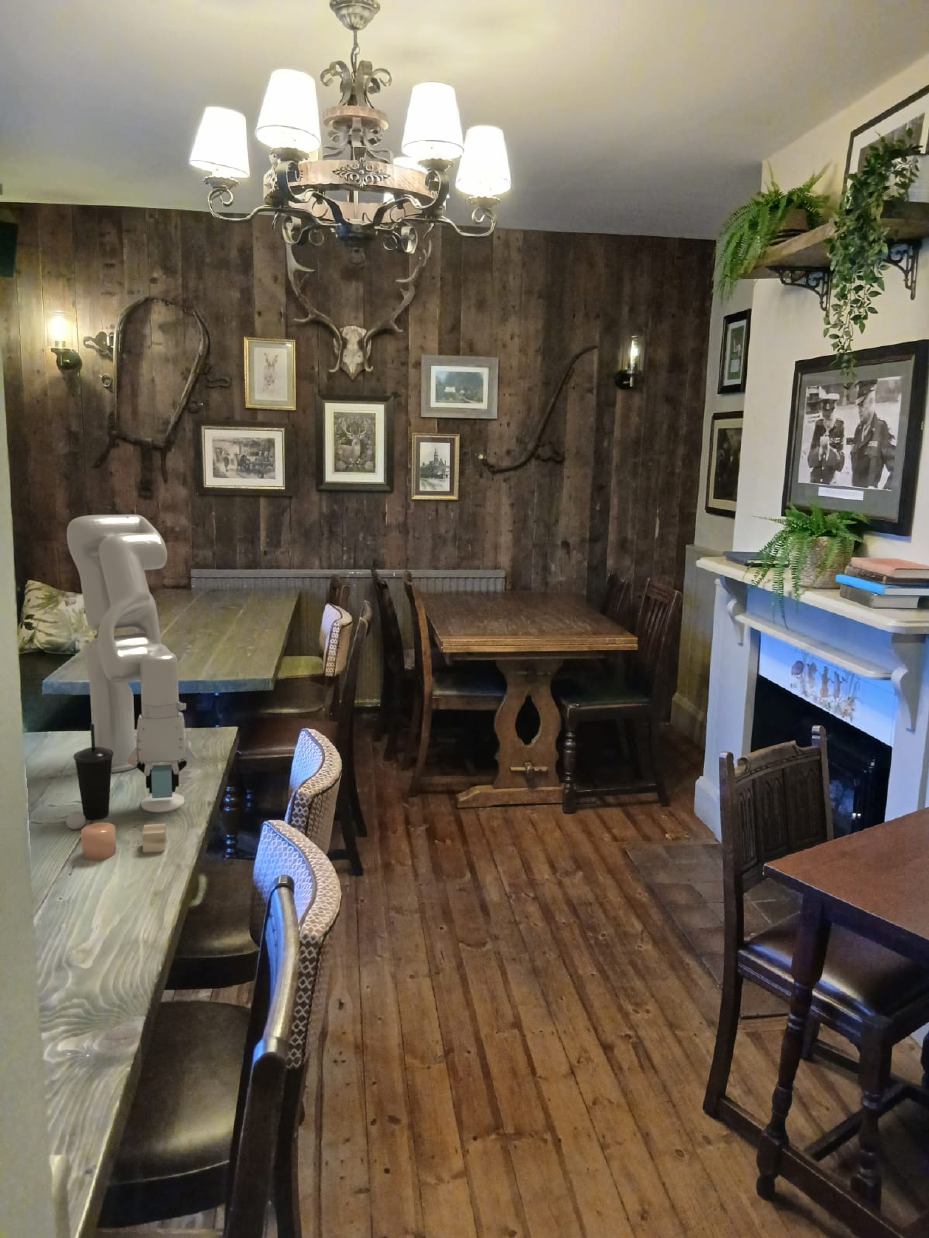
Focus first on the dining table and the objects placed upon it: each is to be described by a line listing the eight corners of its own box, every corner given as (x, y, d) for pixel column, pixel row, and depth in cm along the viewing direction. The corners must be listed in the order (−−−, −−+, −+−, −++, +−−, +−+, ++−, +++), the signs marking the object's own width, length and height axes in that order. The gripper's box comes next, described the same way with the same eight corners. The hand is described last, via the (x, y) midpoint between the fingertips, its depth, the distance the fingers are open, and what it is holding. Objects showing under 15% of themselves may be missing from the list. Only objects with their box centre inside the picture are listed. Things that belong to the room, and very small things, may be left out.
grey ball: (68, 825, 179) (67, 808, 179) (87, 824, 180) (86, 807, 179) (64, 832, 176) (64, 816, 175) (84, 831, 177) (83, 814, 176)
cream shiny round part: (143, 796, 195) (143, 794, 195) (185, 794, 197) (185, 791, 197) (139, 813, 186) (138, 810, 186) (183, 810, 188) (183, 808, 188)
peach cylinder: (84, 847, 170) (83, 823, 169) (117, 845, 172) (116, 821, 171) (79, 862, 165) (78, 837, 164) (114, 859, 166) (112, 835, 165)
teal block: (153, 791, 192) (153, 765, 191) (173, 790, 193) (172, 764, 192) (152, 798, 188) (151, 771, 187) (171, 797, 189) (171, 770, 188)
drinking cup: (101, 825, 180) (97, 732, 176) (68, 820, 181) (63, 728, 177) (123, 810, 187) (119, 720, 183) (91, 806, 189) (87, 717, 185)
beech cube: (144, 843, 173) (144, 824, 172) (166, 842, 174) (165, 823, 173) (142, 852, 169) (142, 833, 168) (164, 851, 170) (164, 832, 169)
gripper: (201, 703, 193) (203, 781, 197) (120, 705, 189) (123, 786, 192) (200, 713, 186) (202, 794, 189) (116, 716, 182) (119, 799, 185)
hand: (162, 789), depth 191 cm, fingers closed on teal block, 4 cm apart
